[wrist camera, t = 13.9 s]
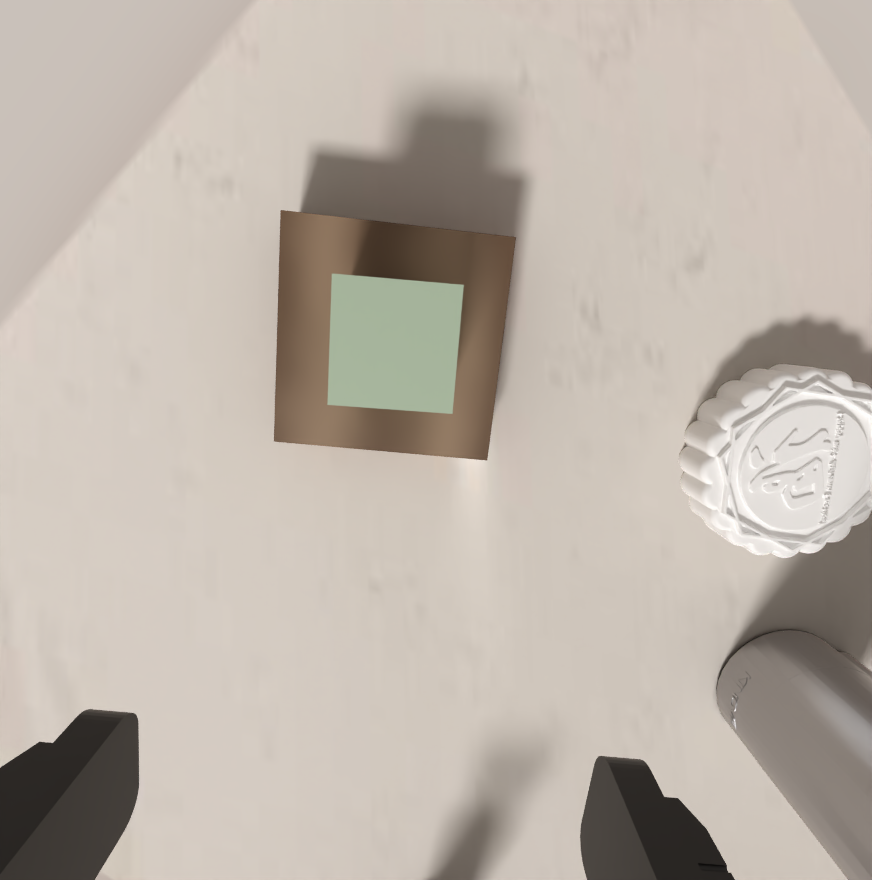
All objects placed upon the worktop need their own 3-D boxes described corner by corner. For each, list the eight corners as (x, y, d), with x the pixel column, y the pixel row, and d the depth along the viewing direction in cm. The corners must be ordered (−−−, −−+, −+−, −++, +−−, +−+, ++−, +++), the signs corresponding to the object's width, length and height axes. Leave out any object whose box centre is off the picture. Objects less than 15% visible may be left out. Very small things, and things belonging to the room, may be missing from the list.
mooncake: (684, 365, 31) (717, 371, 28) (870, 360, 32) (926, 365, 28) (668, 541, 34) (697, 567, 31) (839, 535, 35) (886, 559, 31)
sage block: (454, 294, 26) (463, 284, 21) (445, 397, 27) (452, 413, 22) (349, 285, 26) (331, 273, 21) (345, 389, 27) (327, 404, 22)
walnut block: (502, 248, 30) (515, 237, 26) (478, 443, 32) (487, 460, 28) (299, 225, 29) (280, 210, 25) (291, 426, 32) (273, 441, 28)
